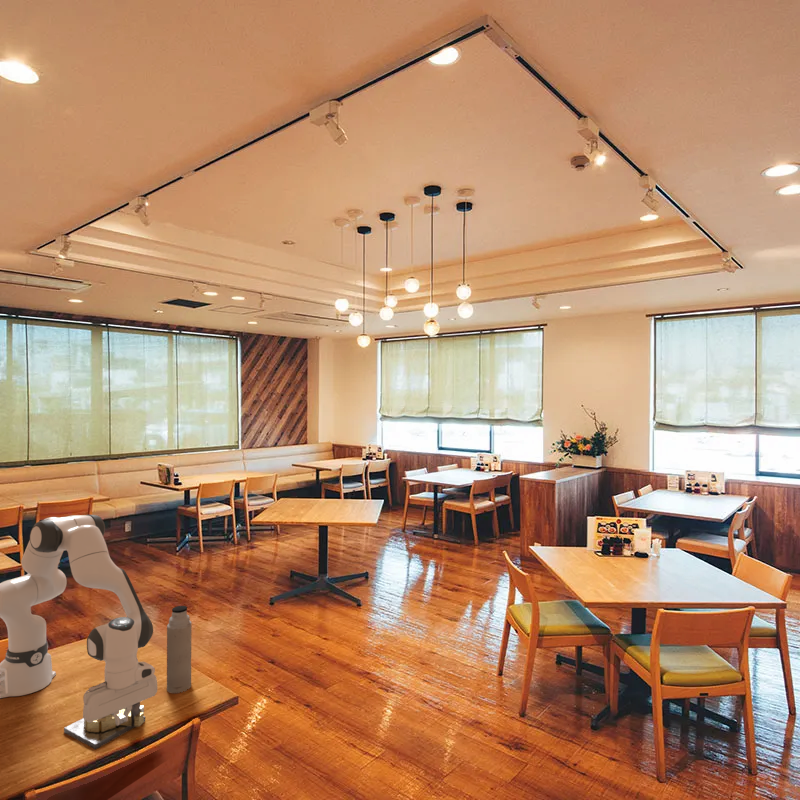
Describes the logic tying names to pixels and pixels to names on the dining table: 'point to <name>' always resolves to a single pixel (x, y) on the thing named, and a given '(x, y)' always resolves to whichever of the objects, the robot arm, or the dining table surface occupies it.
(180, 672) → the thermos bottle
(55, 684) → the dining table surface
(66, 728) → the grey peg base
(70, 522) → the robot arm
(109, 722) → the tan ring with handle
